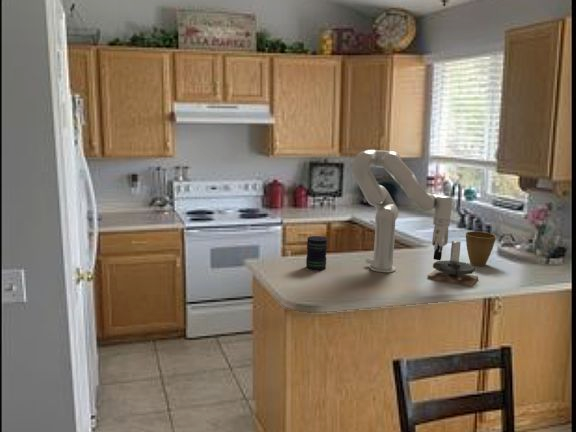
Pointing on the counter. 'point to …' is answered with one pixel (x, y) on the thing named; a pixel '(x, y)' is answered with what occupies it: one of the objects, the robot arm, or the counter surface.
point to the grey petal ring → (461, 269)
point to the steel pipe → (454, 256)
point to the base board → (453, 278)
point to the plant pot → (479, 247)
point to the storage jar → (316, 253)
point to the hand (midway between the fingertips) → (437, 259)
